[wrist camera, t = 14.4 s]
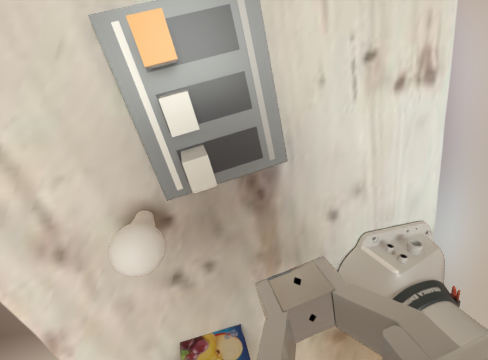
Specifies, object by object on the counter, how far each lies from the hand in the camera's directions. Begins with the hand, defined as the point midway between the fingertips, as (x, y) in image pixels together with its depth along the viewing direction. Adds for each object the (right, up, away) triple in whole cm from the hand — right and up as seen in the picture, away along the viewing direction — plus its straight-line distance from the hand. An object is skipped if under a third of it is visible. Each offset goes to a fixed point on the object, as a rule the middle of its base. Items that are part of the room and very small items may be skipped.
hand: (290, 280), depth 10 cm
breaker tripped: (-11, +19, +17) cm, 28 cm away
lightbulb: (-16, -1, +26) cm, 31 cm away
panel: (-7, +14, +22) cm, 28 cm away
